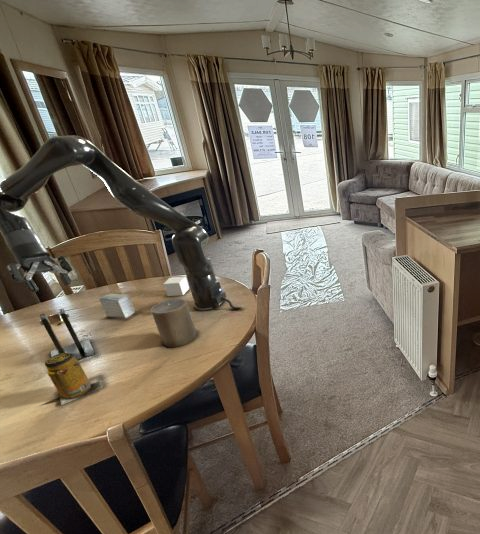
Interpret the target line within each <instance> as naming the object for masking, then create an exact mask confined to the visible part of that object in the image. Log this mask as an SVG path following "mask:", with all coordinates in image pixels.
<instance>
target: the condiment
mask: <svg viewBox="0 0 480 534" xmlns="http://www.w3.org/2000/svg"><path fill="white" fill-rule="evenodd" d="M44 366H45V367H46V369H47V372H46V373H47V375H48V377H49V378H50V380H51V382H52V384H53V386H54V387H55V389H56V390H57V392H58V394H59V395H60V396H59V401H60V405H61V406H63V405H65V404H68V403H70V402H73V401H75V400H78V399H80V398H82V397H85V396H87V395H89V394H91V393H94V392H96V391H98V390H101V389H103V388H104V385H103V383H102V380H98V381H95V382H94V383H93V382H92V383H91V382H90V380H89V378H88V375H87V374H86V372H85V371H84V369H83V367H82V365H81V363H80V360H75V357H73V354H72V353H61V354H57V355H55V356H50V357H49V358H47V359H46V360H45V362H44Z"/></svg>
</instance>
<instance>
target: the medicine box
mask: <svg viewBox="0 0 480 534" xmlns="http://www.w3.org/2000/svg"><path fill="white" fill-rule="evenodd" d="M99 302H100V304H101V307H102V309H103V310H104V313H105V315H106V317H107V318H108V317H109V318H110V317H111V318H122V319H127V318H128V317H130V316H132V315H133V314H135V313H137V311H136V309H135V307H134V304H133V302H132V300H131V298H130V295H128V294H121V293H120V294H119V293H108V294H107V295H104V296H103V297H101V298H99Z"/></svg>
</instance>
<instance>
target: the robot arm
mask: <svg viewBox="0 0 480 534" xmlns="http://www.w3.org/2000/svg"><path fill="white" fill-rule="evenodd" d="M78 166H83V167H85V168H86V169H88V170H90V171H91V172H93V174H95V175H97V177H99V178H100V179H101V180H102V181H103V182H104V184H105V186H106V187H107V189H108V191H109V192H110V194H111V196H112V197H113V198H114V199H115V200H116V201H117V202H118V203H120V204H121V205H123V207H126V209H128V210H129V211H131V212H132V213H134V214H135V215H138V216H139V217H142V218H145V219H147V220H151V221H153V222H157V223H159V224H161V225H163V226H165V227H166V228H168V229H170V230H171V231H172V232H173V233H174V234H173V235H172V238H171V242H172V247H173V249H174V252H175V255H176V258H177V260H178V263H179V264H180V265H181V266H182V268H183V271H184V274H185V277H186V280H187V283H188V287H189V290H190V293H191V296H192V300H193V305H194V306H195V307H194V308H195V309H196V310H198V311H209V310H216V309H217V308H219V307H220V306H221V305H222V304H223V303H224V302H227V303H228V304H229V306H230V308H231V309H233V310H242V309H243V307H241V306H236V307H235V306H234V305H233V303H232V301H231V300H229V299H227V293H226V291H223V290H222V286H221V283H220V281H217V277H216V273H215V270H214V266H213V263H212V258H210V257H209V256H206V255H205V253H204V250H203V247H205V246H206V245H207V244H208V242H209V241H210V236H209V235H208V232H207V231H206V230H205V229H204V228H203V227H202V226H200V225H199V224H197V223H196V222H194V221H193V220H191V219H189V218H188V217H187V216H185V215H183V214H181V213H180V212H178V211H177V210H176V209H175V208H174V207H172V206H171V205H169V204H168V203H167V202H166V201H164V200H163V199H161V198H160V197H159V196H158V195H156V194H155V193H154V192H153V191H152V190H150V189H148V188H147V187H146V186H145V185H144V184H142V183H140V182H139V181H138V180H136V179H135V178H133V177H132V176H131V175H130V174H128V173H127V172H126V171H125V170H123V169H122V168H121V167H119V166H118V165H117V164H116V163H114V162H113V161H112V160H111V159H110V158H109V157H108V156H107V155H106V154H105V153H103V152H102V151H101V150H100V149H99V148H98V147H97V146H95V145H94V144H93V143H92V142H91V141H89V140H88V139H87V138H85V137H82V136H80V135H75V134H68V135H57V136H52V137H50V138H48V139H47V140H46V141H45V142H43V144H42V145H41V146H40V147H39V149H37V151H36V152H35V153H34V155H33V156H31V158H30V159H29V160H28V161H27V162H26V163H25V164H24V165H23V166H21V167H20V168H19V169H17V170H15V171H14V172H13V173H12V174H10V175H8V176H7V177H6V178H4V180H2V181H1V182H0V234H1V236H2V237H3V239H4V242H5V244H6V245H7V248H8V249H9V250H10V252H11V253H12V255H13V257H14V258H15V259H16V262H18V263H14V262H12V263H9V264H8V265H7V266H6V267H5V268H6V270H7V272H8V274H9V276H10V278H11V280H12V281H13V282H14V283H15V284H16V283H23V284H24V285H25V287H26V288H27V290H28V291H29V292H32V293H36V292H38V291H39V290H40V289H39V287H38V286H37V284H36V283H35V281H34V279H33V277H34V275H39V274H44V273H48V272H49V273H51V274H55V275H58V276H59V278H60V280H61V282H62V283H63V285H64V286H66V287H67V286H69V285H71V283H72V279H71V278H70V276H69V275H68V274H70V273H71V272H72V271H73V267H72V266H71V264H69V262H68V260H67V259H66V258H65V256H63V255H60V256H58V257H55V258H53V257H52V256H51V255H50V252H49V250H48V249H47V247H46V246H45V243H43V241H42V239H41V238H40V236H39V234H38V233H37V232H36V231H35V230H34V228H33V227H32V225H31V224H30V222H29V219H27V218H26V217H25V216H23V215H20V214H15V212H19V211H21V210H23V209H24V208H25V207H26V205H27V203H28V202H29V199H30V197H32V196H33V195H34V194H36V193H37V192H39V191H40V190H41V189H43V188H44V187H45V186H46V185H47V183H48V182H49V179H50V177H52V176H53V175H54V174H55V173H58V172H59V171H61V170H63V169H66V168H69V167H78ZM20 269H22V270H24V271H25V273H24V275H23V276H22V274H21V272H20Z"/></svg>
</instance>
